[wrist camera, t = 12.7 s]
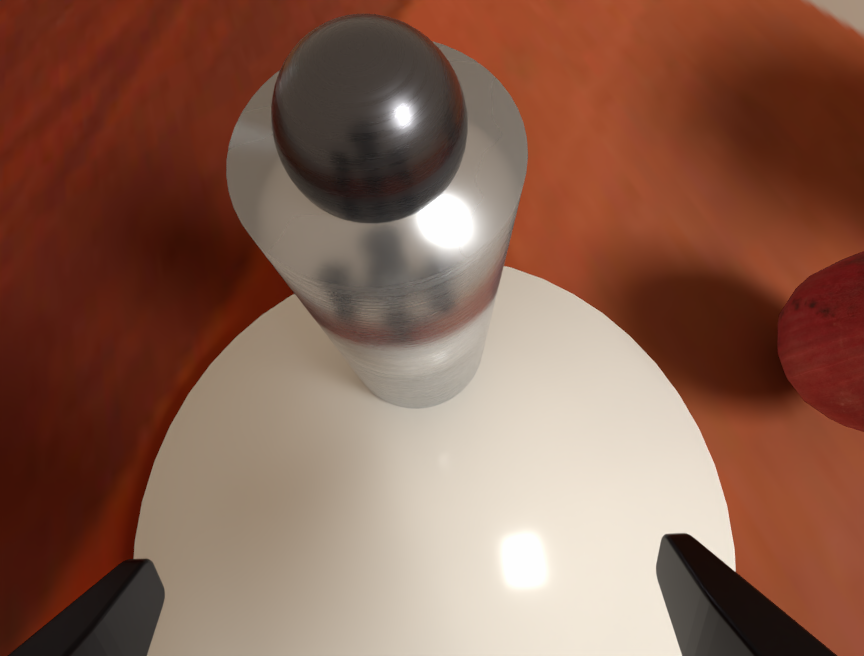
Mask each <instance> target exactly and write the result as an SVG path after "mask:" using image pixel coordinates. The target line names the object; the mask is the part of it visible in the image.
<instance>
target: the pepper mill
mask: <svg viewBox="0 0 864 656" xmlns="http://www.w3.org/2000/svg"><path fill="white" fill-rule="evenodd" d="M527 160H528V149H527V137H526V133H525V128H524V124H523V121H522V118H521V116H520V113H519V111H518V108H517V106H516V105H515V103H514V101H513V99H512V98H511V96H510V94H509V93H508V92H507V90H506V89H505V88H504V87H503V85H502V84H501V83H500V81H499V80H498V79H496V78H495V77H494V76H493V75H492V74H491V73H490V72H489V71H488V70H487V69H486V68H484V67H483V66H482V65H480V64H479V63H478V62H476V61H475V60H473V59H472V58H470V57H468V56H466V55H465V54H463V53H461V52H459V51H457V50H455V49H452V48H450V47H448V46H445V45H442V44H439V43H436V42H432V41H431V40H430V39H429V38H428V37H427V36H425V35H424V34H423V33H421V32H420V31H418V30H417V29H415V28H413V27H412V26H410V25H408V24H406V23H404V22H402V21H400V20H397V19H394V18H390V17H386V16H381V15H376V14H353V15H347V16H342V17H339V18H336V19H333V20H330V21H328V22H326V23H324V24H322V25H320V26H319V27H317V28H316V29H314V30H313V31H311V32H310V33H308V34H307V35H306V36H305V37H304V38H303V39H301V40H300V41H299V43H298V44H297V45H296V46H295V47H294V49H293V50H292V51H291V52H290V54H289V55H288V57H287V58H286V60H285V62H284V64H283V66H282V68H281V70H280V71H278V72H277V73H276V74H274V75H273V76H272V77H271V78H270V79H269V80H268V81H267V82H266V83H265V84H263V85H262V87H261V88H260V89H259V90H258V91H257V92H256V93H255V95H254V96H253V97H252V98H251V100H250V101H249V103H248V104H247V106H246V107H245V109H244V110H243V112H242V114H241V116H240V118H239V120H238V122H237V124H236V126H235V128H234V131H233V134H232V137H231V140H230V144H229V149H228V155H227V182H228V190H229V194H230V197H231V200H232V204H233V207H234V209H235V211H236V213H237V215H238V217H239V219H240V221H241V223H242V225H243V226H244V228H245V229H246V230H247V232H248V233H249V235H250V236H251V237H252V239H253V240H254V241H255V243H256V244H257V245H258V247H259V248H260V249H261V250H262V252H263V253H264V254H265V256H266V257H267V258H268V260H269V261H270V262H271V263H272V265H273V266H274V267H275V269H276V270H277V271H278V273H279V274H280V275H281V276H282V278H283V279H284V280H285V282H286V283H287V284H288V286H289V287H290V288H291V290H292V291H293V292H294V293H295V295H296V296H297V297H298V299H299V300H300V301H301V303H302V304H303V305H304V306H305V308H306V309H307V310H308V312H309V313H310V314H311V316H312V317H313V318H314V319H315V321H316V322H317V323H318V325H319V326H320V327H321V329H322V330H323V331H324V332H325V334H326V335H327V336H328V338H329V339H330V340H331V342H332V343H333V344H334V345H335V347H336V348H337V349H338V351H339V352H340V353H341V355H342V356H343V357H344V358H345V360H346V361H347V362H348V364H349V365H350V366H351V368H352V369H353V370H354V371H355V373H356V374H357V375H358V377H359V378H360V379H361V381H362V382H363V383H364V384H365V386H366V387H367V388H368V389H369V390H370V391H371V392H372V393H374V394H375V395H376V396H377V397H379V398H381V399H382V400H384V401H386V402H388V403H390V404H393V405H396V406H399V407H404V408H418V409H420V408H428V407H432V406H436V405H439V404H442V403H444V402H446V401H448V400H450V399H452V398H453V397H455V396H456V395H457V394H459V393H460V392H461V391H462V390H463V389H464V388H465V387H466V386H467V385H468V384H469V383H470V381H471V380H472V379H473V377H474V375H475V374H476V372H477V370H478V367H479V365H480V361H481V358H482V354H483V349H484V345H485V341H486V337H487V333H488V329H489V325H490V320H491V316H492V312H493V308H494V304H495V300H496V296H497V291H498V287H499V283H500V279H501V275H502V271H503V267H504V262H505V258H506V254H507V250H508V246H509V242H510V238H511V233H512V229H513V225H514V221H515V217H516V213H517V209H518V204H519V200H520V196H521V192H522V188H523V184H524V180H525V175H526V170H527Z"/></svg>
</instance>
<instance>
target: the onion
mask: <svg viewBox="0 0 864 656" xmlns="http://www.w3.org/2000/svg"><path fill="white" fill-rule="evenodd" d="M777 353H778V356H779V358H780V361H781V364H782V367H783V370H784V372H785V375H786V378H787V379H788V381H789V382H790V383H791V384H792V386H793V387H794V388H795V390H796V391H797V392H798V394H799V395H800V396H801V397H802V399H803V400H804V401H805V402H806V403H808V404H809V405H811V406H812V407H814V408H815V409H817V410H818V411H819V412H821V413H822V414H824V415H825V416H827V417H828V418H830V419H831V420H834V421H836V422H838V423H840V424H842V425H844V426H846V427H850V428H853V429H856V430H860V431H863V432H864V252H861V253H858V254H855V255H853V256H850V257H848V258H845V259H843V260H840V261H838V262H836V263H835V264H833V265H831V266H829V267H827V268H825V269H823V270H821V271H819V272H817V273H815V274H813V275H811V276H809V277H808V278H807V279H806V280H805V281H804V282H803V283H801V284H800V285H799V286H798V287H797V288H796V289H795V291H794V292H793V294H792V295H791V297H790V298H789V300H788V302H787V303H786V305H785V306H784V308H783V309H782V311H781V312H780V314H779V320H778V349H777Z"/></svg>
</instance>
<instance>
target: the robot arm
mask: <svg viewBox="0 0 864 656" xmlns="http://www.w3.org/2000/svg"><path fill="white" fill-rule="evenodd" d="M656 575H657V580H658V583H659V586H660V589H661V592H662V595H663V598H664V602H665V605H666V608H667V611H668V614H669V617H670V620H671V623H672V626H673V629H674V632H675V635H676V639H677V642H678V645H679V648H680V651H681V654H682V656H837V655H836V654H835V653H833V652H832V651H831V650H830V649H829V648H827V647H826V646H825V645H824V644H822V643H821V642H820V641H819V640H818V639H816V638H815V637H814V636H813V635H812V634H810V633H809V632H808V631H807V630H805V629H804V628H803V627H802V626H801V625H799V624H798V623H797V622H796V621H795V620H793V619H792V618H791V617H790V616H788V615H787V614H786V613H785V612H784V611H782V610H781V609H780V608H779V607H778V606H776V605H775V604H774V603H773V602H771V601H770V600H769V599H768V598H767V597H765V596H764V595H763V594H762V593H761V592H759V591H758V590H757V589H756V588H754V587H753V586H752V585H751V584H750V583H748V582H747V581H746V580H745V579H744V578H742V577H741V576H740V575H739V574H737V573H736V572H735V571H734V570H733V569H731V568H730V567H729V566H728V565H727V564H725V563H724V562H723V561H722V560H720V559H719V558H718V557H717V556H716V555H714V554H713V553H712V552H711V551H710V550H708V549H707V548H706V547H705V546H703V545H702V544H701V543H700V542H699V541H697V540H696V539H695V538H694V537H692V536H691V535H689V534H687V533H670V534H665V535H663V537H662V539H661V542H660V547H659V552H658V557H657V562H656ZM164 599H165V589H164V586H163V584H162V581H161V579H160V577H159V575H158V572H157V570H156V568H155V566H154V563H153V562H152V561H151V560H150V559H146V558H145V559H129V560H126V561H124V562H122V563H120V564H119V565H118V566H117V567H115V568H114V569H113V570H112V571H111V572H109V573H108V574H107V575H106V576H104V577H103V578H102V579H101V580H100V581H98V582H97V583H96V584H95V585H93V586H92V587H91V588H90V589H89V590H87V591H86V592H85V593H84V594H82V595H81V596H80V597H79V598H78V599H76V600H75V601H74V602H73V603H71V604H70V605H69V606H68V607H67V608H65V609H64V610H63V611H62V612H60V613H59V614H58V615H57V616H56V617H54V618H53V619H52V620H51V621H50V622H48V623H47V624H46V625H45V626H43V627H42V628H41V629H40V630H39V631H37V632H36V633H35V634H34V635H32V636H31V637H30V638H29V639H28V640H26V641H25V642H24V643H23V644H21V645H20V646H19V647H18V648H17V649H15V650H14V651H13V652H12V653H10V654H9V655H8V656H147V654H148V651H149V648H150V645H151V641H152V638H153V635H154V632H155V629H156V626H157V623H158V620H159V617H160V613H161V610H162V607H163V604H164Z"/></svg>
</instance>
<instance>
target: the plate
mask: <svg viewBox="0 0 864 656" xmlns="http://www.w3.org/2000/svg"><path fill="white" fill-rule="evenodd" d="M670 533H687V534H689V535H691V536H692V537H694V538H695V539H696V540H697V541H699V542H700V543H701V544H702V545H703V546H705V547H706V548H707V549H708V550H710V551H711V552H712V553H713V554H714V555H716V556H717V557H718V558H719V559H720V560H722V561H723V562H724V563H725V564H727V565H728V566H729V567H730V568H731V569H733V570H734V571H735V572H736V570H735V550H734V544H733V538H732V532H731V526H730V520H729V515H728V509H727V504H726V501H725V498H724V494H723V491H722V488H721V484H720V481H719V478H718V474H717V471H716V468H715V465H714V462H713V460H712V458H711V456H710V453H709V451H708V449H707V446H706V444H705V442H704V439H703V437H702V435H701V432H700V430H699V428H698V426H697V424H696V423H695V421H694V419H693V418H692V416H691V414H690V412H689V411H688V409H687V407H686V405H685V404H684V402H683V400H682V399H681V397H680V395H679V394H678V392H677V391H676V390H675V388H674V387H673V386H672V384H671V383H670V382H669V380H668V379H667V378H666V376H665V375H664V374H663V372H662V371H661V369H660V368H659V367H658V365H657V364H656V363H655V362H654V361H653V360H652V359H651V358H650V357H649V356H648V355H647V353H646V352H645V351H644V350H643V349H642V348H641V347H640V346H639V345H638V344H637V343H636V342H635V341H634V340H633V339H632V338H631V337H630V336H629V335H628V334H627V333H626V332H624V331H623V330H622V329H621V328H620V327H618V326H617V325H616V324H615V323H614V322H612V321H611V320H610V319H609V318H608V317H607V316H605V315H604V314H603V313H601V312H600V311H598V310H597V309H595V308H594V307H592V306H591V305H589V304H588V303H586V302H585V301H583V300H582V299H580V298H578V297H577V296H575V295H574V294H572V293H570V292H568V291H566V290H564V289H562V288H560V287H558V286H556V285H554V284H552V283H550V282H548V281H546V280H544V279H541V278H539V277H536V276H533V275H530V274H527V273H525V272H522V271H519V270H516V269H514V268H510V267H506V266H504V267H503V271H502V275H501V279H500V283H499V287H498V291H497V296H496V300H495V304H494V308H493V312H492V316H491V320H490V325H489V329H488V333H487V337H486V341H485V345H484V349H483V354H482V358H481V361H480V365H479V367H478V370H477V372H476V374H475V375H474V377H473V379H472V380H471V381H470V383H469V384H468V385H467V386H466V387H465V388H464V389H463V390H462V391H461V392H460V393H459V394H457V395H456V396H455V397H453V398H452V399H450V400H448V401H446V402H444V403H442V404H439V405H436V406H432V407H428V408H420V409H418V408H404V407H399V406H396V405H393V404H390V403H388V402H386V401H384V400H382V399H381V398H379V397H377V396H376V395H375V394H374V393H372V392H371V391H370V390H369V389H368V388H367V387H366V386H365V384H364V383H363V382H362V381H361V379H360V378H359V377H358V375H357V374H356V373H355V371H354V370H353V369H352V368H351V366H350V365H349V364H348V362H347V361H346V360H345V358H344V357H343V356H342V355H341V353H340V352H339V351H338V349H337V348H336V347H335V345H334V344H333V343H332V342H331V340H330V339H329V338H328V336H327V335H326V334H325V332H324V331H323V330H322V329H321V327H320V326H319V325H318V323H317V322H316V321H315V319H314V318H313V317H312V316H311V314H310V313H309V312H308V310H307V309H306V308H305V306H304V305H303V304H302V303H301V301H300V300H299V299H298V297H297V296H296V295H295V294H293V295H291V296H289V297H288V298H286V299H285V300H283V301H282V302H281V303H279V304H278V305H276V306H275V307H273V308H272V309H270V310H269V311H267V312H266V313H264V314H263V315H261V316H260V317H259V318H258V319H257V320H255V321H254V322H253V323H252V324H251V325H250V326H248V327H247V328H246V329H245V330H244V331H243V332H241V333H240V334H239V335H238V336H237V337H235V338H234V340H233V341H232V342H231V343H230V344H229V345H228V346H227V347H226V348H225V349H224V350H223V351H222V352H221V353H220V355H219V356H218V357H217V358H216V359H215V360H214V361H213V362H212V363H211V364H210V366H209V367H208V368H207V370H206V371H205V372H204V374H203V375H202V376H201V378H200V379H199V380H198V382H197V383H196V384H195V386H194V387H193V389H192V390H191V391H190V393H189V394H188V396H187V397H186V399H185V401H184V403H183V404H182V406H181V408H180V410H179V411H178V413H177V415H176V416H175V418H174V420H173V422H172V423H171V425H170V427H169V429H168V432H167V434H166V436H165V438H164V441H163V443H162V445H161V448H160V450H159V452H158V454H157V457H156V459H155V461H154V464H153V467H152V471H151V474H150V477H149V480H148V484H147V487H146V490H145V493H144V497H143V500H142V505H141V510H140V516H139V521H138V526H137V532H136V537H135V545H134V559H145V558H146V559H150V560H151V561H152V562H153V563H154V566H155V568H156V570H157V572H158V575H159V577H160V579H161V581H162V584H163V586H164V589H165V599H164V604H163V607H162V610H161V613H160V617H159V620H158V623H157V626H156V629H155V632H154V635H153V638H152V641H151V645H150V648H149V651H148V654H147V656H682V654H681V651H680V648H679V645H678V642H677V639H676V635H675V632H674V629H673V626H672V623H671V620H670V617H669V614H668V611H667V608H666V605H665V602H664V598H663V595H662V592H661V589H660V586H659V583H658V580H657V575H656V562H657V557H658V552H659V547H660V542H661V539H662V537H663V535H665V534H670Z"/></svg>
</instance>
